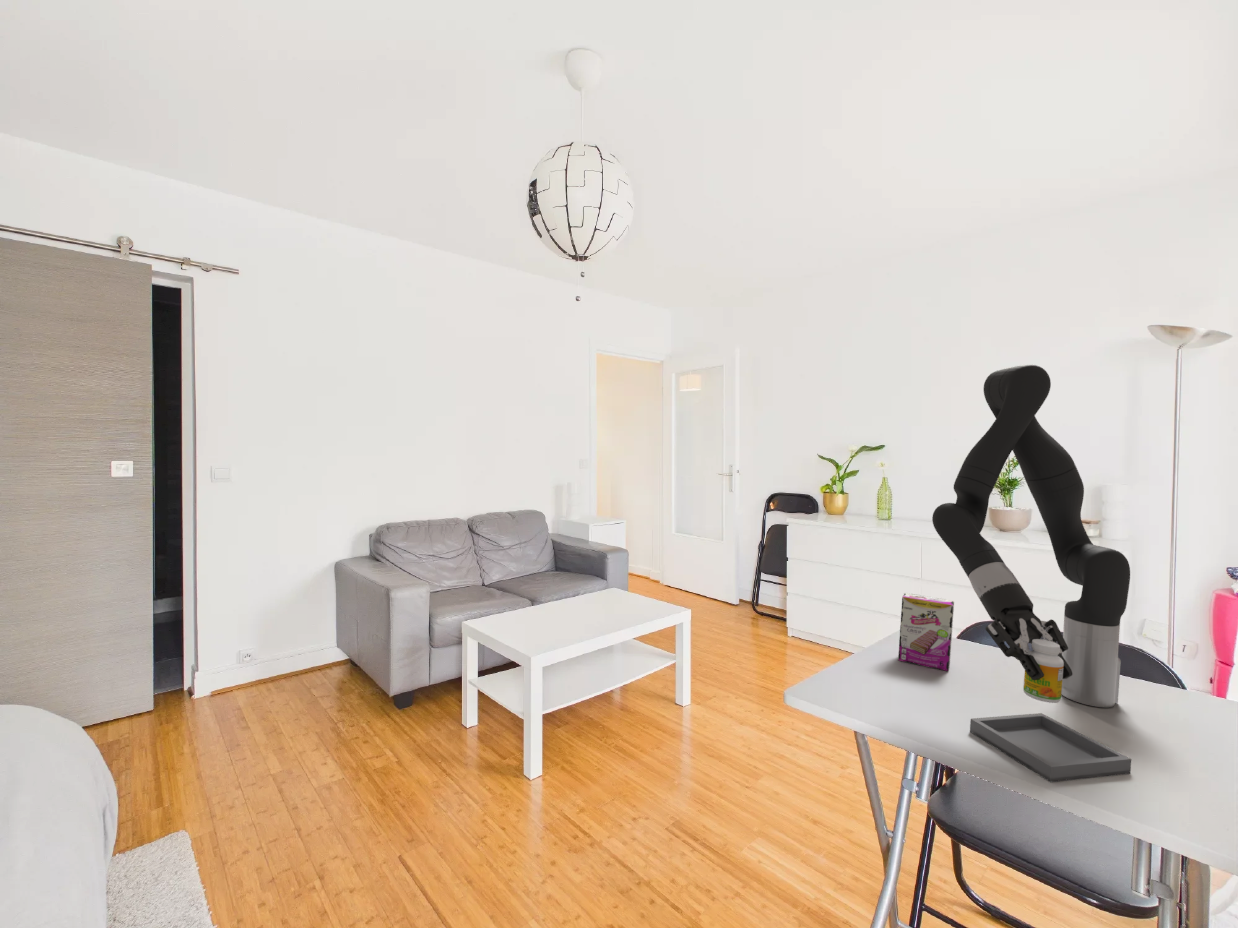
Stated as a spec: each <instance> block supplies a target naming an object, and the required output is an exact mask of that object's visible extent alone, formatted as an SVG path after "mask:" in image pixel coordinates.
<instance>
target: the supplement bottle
mask: <svg viewBox="0 0 1238 928" xmlns="http://www.w3.org/2000/svg"><path fill="white" fill-rule="evenodd" d="M1030 646H1031V649H1032V650H1030V654H1029V655H1032V656H1033V657H1034V659H1035V660H1036V662H1037V664H1038V665H1039V667H1040V668H1041V670H1042V672H1043V673H1044V677H1042V678H1041V679H1039V680H1032V679H1031V677H1030V676H1029V675H1028V674H1027V673H1026V671H1025V670H1024V677H1023V693H1024V694H1025V695H1026V696H1027V697H1029V698H1031V699H1034V700H1037V701H1040V702H1044V703H1049V704H1056V703H1057V704H1058V703H1060V702H1061V700H1062V694H1061V692H1062V680H1063V667H1064V662H1063V660H1062V659H1061V658H1060V657H1059V656H1058V654H1059V653H1060V645H1059V644H1058V642H1056V643H1054V642H1051V641H1048V640H1043V639H1042V638H1040V639H1033V640H1032V644H1030Z"/></svg>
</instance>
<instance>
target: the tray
mask: <svg viewBox="0 0 1238 928" xmlns="http://www.w3.org/2000/svg"><path fill="white" fill-rule="evenodd" d="M969 732H970V733H972V734H973V735H974V736H976V737H978V738H979V739H981V740H982V741H984V742H985V743H987V744H989V745H990V746H992V747H994V748H995V749H997V750H999V751H1000V752H1002V753H1003V754H1004V755H1006V756H1008V757H1010V758H1011V759H1013V760H1014V761H1016V762H1017V763H1019V764H1021V765H1022V766H1024V767H1025V768H1027V769H1029V770H1031V772H1033V773H1035V774H1037V776H1040V777H1041V778H1043V779H1045V780H1046V781H1048V782H1050V783H1055V782H1064V781H1065V782H1067V781H1073V780H1074V781H1075V780H1076V781H1077V780H1084V779H1092V778H1093V779H1094V778H1103V777H1105V778H1106V777H1113V776H1121V775H1131V770H1132V758H1130V757H1128V756H1127V755H1124V754H1122V753H1121V752H1118V751H1116V750H1114V749H1113V748H1111V747H1109V746H1107V745H1104V744H1103V743H1100V742H1099V741H1097V740H1095V739H1093V738H1091V737H1089V736H1087V735H1085V734H1083V733H1082V732H1079V731H1077V730H1075V729H1073V728H1072V727H1069V726H1068V725H1066V724H1063V723H1062V722H1060V721H1058V720H1056V719H1053V718H1052V717H1051V716H1048V715H1046V714H1044V713H1042V712H1040V713H1028V714H1015V715H1002V716H1000V715H999V716H989V717H987V716H986V717H975V718H970V724H969Z"/></svg>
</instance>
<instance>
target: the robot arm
mask: <svg viewBox="0 0 1238 928" xmlns="http://www.w3.org/2000/svg"><path fill="white" fill-rule="evenodd" d="M1051 383H1052V382H1051V378H1050V375H1049V373H1048V372H1047V371H1046V370H1045V368H1043V367H1041V366H1039V365H1036V364H1020V365H1015V366H1011V367H1006V368H1001V369H999V370H996V371H993V372H991V373H990V374H989V375H988V376H987V377H986V379H985V381H984V384H983V396H984V399H985V401H986V404H987V406H988V407H989V409H990V411H991V412H992V415H993V416H994V418H995V420H994V421H993V423H992V424H991V426H990V427H989V429H988V430H987V431H986V432H985V433H984V434H983V436H982V437H980V439H979V440H978V441H977V442H976V443H975V445H974V446H973V447H972V448H971V449H970V451H969V452H968V454H967V455H966V457H965V459H964V461H963V463H962V465H961V467H960V468H959V471H958V474H957V476H956V478H955V481H954V482H953V483H954V484H953V491H954V493H955V494H956V501H955V502H947V503H942V504H940V505H938V506H937V507H936V508H935V510H934V511H933V513H932V516H931V517H932V520H931V521H932V525H933V527H934V528H933V529H934V530H935V531H936V533H937V534H938V536H939V537H940V539H941V540H942V542H944V544H945V546H947V548H948V549H949V550H950V551H951V552H952V553H953V555H954V556H955V557H956V559H957V560H958V562H959V564H960V566H961V568H962V570H963V571H964V573H965V574H966V576H967V578H968V580H969V581H970V585H971V586H972V589H973V591H974V592H975V594H976V595H977V597H978V599H979V601H980V602H981V605H982V606H983V608H984V609H985V611H986V613H987V614H988V617H990V619H991V620H992V622H991V623H990V624H988V625H987V626H986V627H985V628H984V629H985V631H986V633H988V635H989V636H990V637H991V638H992V640H993V641H994V642H995V644H996V646H998V648H999V649H1000V650H1001V652H1002V653H1003V654H1004V656H1005V657H1007V658H1011V657H1012V658H1014V659H1016V660H1017V661H1018V662H1020V665H1021V666H1022V668H1023V669H1024V672H1025V671H1026V673H1027V674H1028V675H1029V676H1030V677H1031V679H1032V680H1039V679H1041V678H1042V677H1044V673H1043V672H1042V670H1041V668H1040V667H1039V665H1038V664H1037V662H1036V660H1035V659H1034V657H1033V656H1032V655H1029V654H1030V651H1031V650H1030V647H1029V644H1030V645H1032V640H1033V639H1042V638H1043V639H1042V640H1048V641H1051V642H1054V643H1057V644H1059V645H1060V653H1059V654H1058V656H1059V657H1060V658H1061V659H1062V660H1063V662H1064V667H1063V680H1062V692H1061V696H1063V697H1065V698H1067V699H1069V700H1071V701H1074V702H1076V703H1079V704H1083V705H1087V706H1091V707H1098V708H1113V707H1114V706H1115V704H1118V703H1119V693H1120V692H1119V691H1120V690H1119V689H1120V680H1121V679H1120V677H1121V674H1120V673H1121V665H1122V664H1121V663H1122V661H1121V658H1120V657H1119V644H1120V626H1121V618H1122V617H1123V615H1124V614H1125V612H1126V610H1127V604H1128V597H1129V589H1130V582H1131V567H1130V562H1129V561H1128V559H1127V557H1126V556H1125V555H1124V554H1123V553H1122V552H1120V551H1118V550H1116V549H1113V548H1109V547H1105V546H1100V545H1096V544H1093V542H1092V541H1091V539H1090V537H1089V535H1088V534H1087V531H1086V529H1085V526H1084V523H1083V521H1082V515H1081V513H1082V507H1083V501H1084V495H1085V485H1084V482H1083V480H1082V477H1081V475H1080V473H1079V470H1078V468H1077V466H1076V463H1075V461H1074V459H1073V458H1072V456H1071V455H1070V453H1069V452H1068V451H1067V450H1066V449H1065V447H1064V446H1062V445H1061V444H1060V443H1059V442H1058V441H1057V439H1055V438H1054V437H1053V436H1051V434H1050V433H1048V432H1047V431H1046V430H1045V428H1044V427H1043V426H1042V425H1041V424H1040V423H1039V421H1038V419H1037V418H1036V414H1037V413H1038V412H1039V410H1040V408H1041V407H1042V406H1043V404H1044V403H1045V401H1046V399H1047V398H1048V396H1049V393H1050V391H1051ZM1012 452H1013V454H1014V456H1015V458H1016V460H1017V463H1018V464H1019V467H1020V470H1021V472H1022V475H1023V478H1024V480H1025V482H1026V484H1027V486H1028V489H1029V491H1030V494H1031V496H1032V498H1033V499H1034V501H1035V504H1036V506H1037V507H1036V508H1037V509H1038V511H1039V513H1040V517H1041V518H1042V521H1043V523H1044V526H1045V527H1046V530H1047V533H1048V536H1049V540H1050V543H1051V546H1052V549H1053V553H1054V557H1055V561H1056V562H1057V563H1056V564H1057V566H1058V568H1059V571H1060V573H1062V575H1063V576H1064V577H1065V578H1066V579H1067V580H1068V581H1070V582H1072V583H1074V584H1075V585H1076V584H1077V585H1078V586H1082V589H1081V596H1080V598H1079V599H1078V600H1071V601H1068V602H1066V603H1065V605H1064V614H1063V631H1062V632H1061V630H1060V629H1059V626H1058V624H1057V622H1056V621H1055V620H1054V619H1049V620H1047V621H1045V620H1041V619H1040V618H1039V617H1038V616H1037V615H1036V614H1035V613H1034V611H1033V610H1034V603H1033V602H1032V599H1031V598H1030V597H1029V595H1028V594H1027V592H1026V591H1025V590H1024V587H1022V584H1020V582H1019V580H1018V578H1017V577H1016V576H1015V575H1014V573H1013V572H1012V571H1011V569H1010V568H1009V567H1008V566H1007V565H1006V563H1005V562H1004V560H1003V558H1002V557H1001V556H1000V553H999V552H998V551H997V550H996V548H995V547H994V546H993V545H992V544H991V543H990V542H989V541H988V540H987V539H986V538H985V537H983V536H982V534H981V532H982V530H983V528H984V526H985V522H986V518H987V513H988V509H989V508H988V507H989V501H990V497H991V495H992V492H993V490H994V488H995V486H996V483H997V482H998V479H999V477H1000V475H1001V472H1002V471H1003V468H1004V467H1005V464H1006V462H1007V460H1008V458H1009V456H1010V455H1011V453H1012ZM1005 643H1006V644H1007V645H1006V644H1005Z"/></svg>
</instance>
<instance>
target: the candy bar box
mask: <svg viewBox="0 0 1238 928" xmlns="http://www.w3.org/2000/svg"><path fill="white" fill-rule="evenodd" d="M900 610H901V611H900V613H901V614H900V627H899V628H900V629H899V639H898V640H899V642H898V643H899V644H898V655H897V656H898V657H897V658H898V661H899V662H903V663H908V664H912V665H917V666H922V667H927V668H930V669H935V670H941V671H945V672H949V670H950V666H951V655H952V654H951V652H952V636H953V626H954V625H953V622H954V611H955V601H954V600H951V599H946V598H938V597H931V596H926V595H920V594H913V593H908V592H904V593H903V595H902V598H901V609H900Z"/></svg>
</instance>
